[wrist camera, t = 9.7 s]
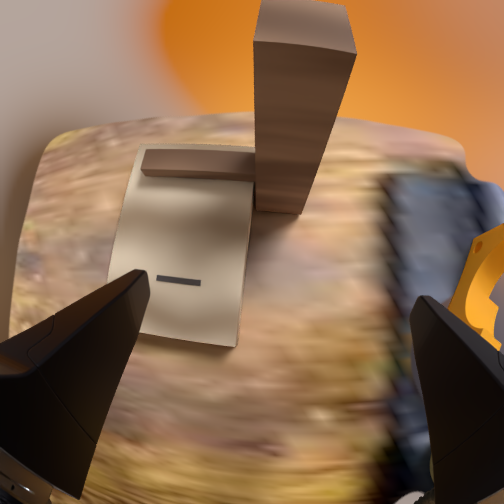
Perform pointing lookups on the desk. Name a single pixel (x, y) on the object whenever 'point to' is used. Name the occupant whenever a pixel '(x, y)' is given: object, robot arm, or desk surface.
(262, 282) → the desk surface
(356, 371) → the desk surface
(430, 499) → the eagle figurine
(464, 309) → the pipe clamp
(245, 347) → the desk surface
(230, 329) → the pine board
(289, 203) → the tan upright block
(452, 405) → the robot arm
